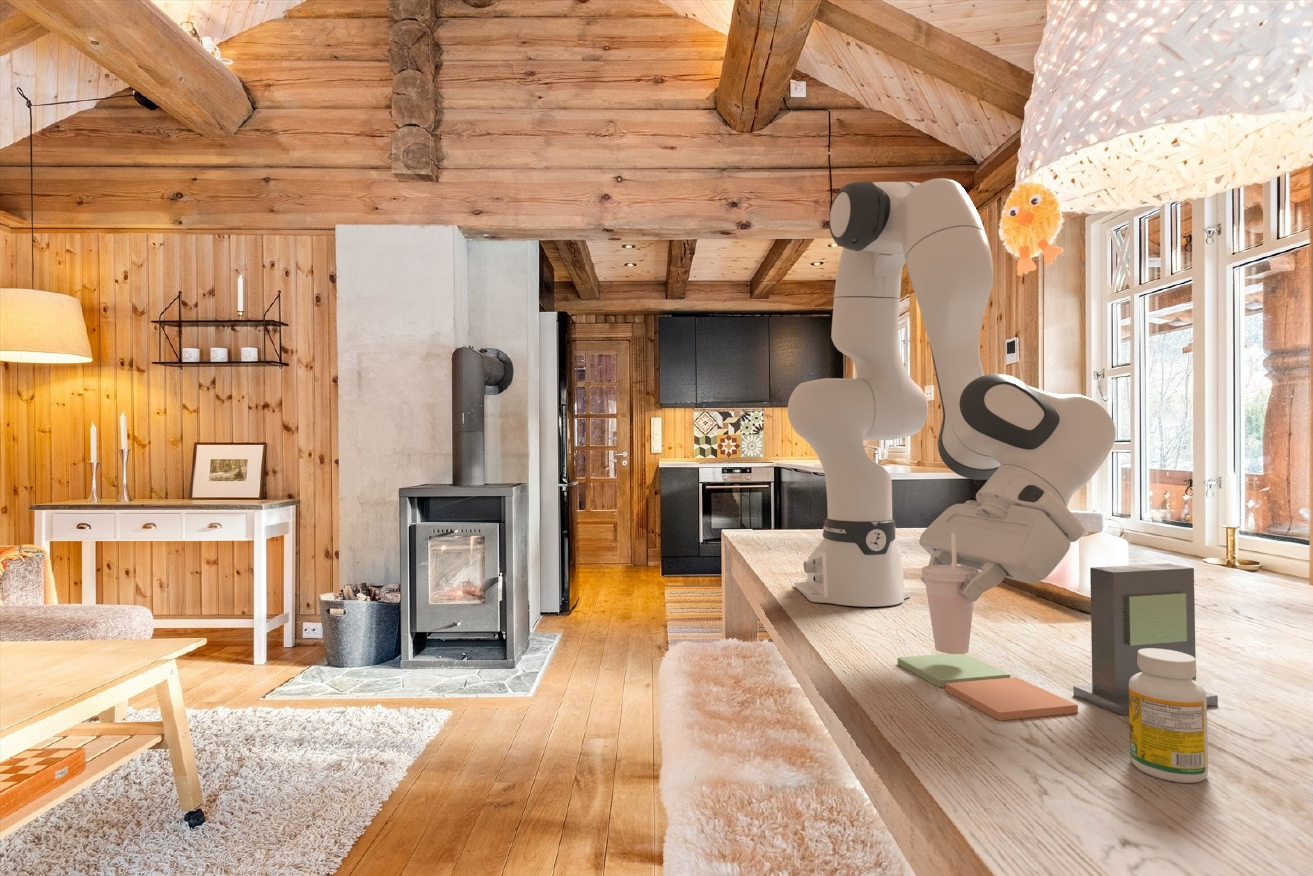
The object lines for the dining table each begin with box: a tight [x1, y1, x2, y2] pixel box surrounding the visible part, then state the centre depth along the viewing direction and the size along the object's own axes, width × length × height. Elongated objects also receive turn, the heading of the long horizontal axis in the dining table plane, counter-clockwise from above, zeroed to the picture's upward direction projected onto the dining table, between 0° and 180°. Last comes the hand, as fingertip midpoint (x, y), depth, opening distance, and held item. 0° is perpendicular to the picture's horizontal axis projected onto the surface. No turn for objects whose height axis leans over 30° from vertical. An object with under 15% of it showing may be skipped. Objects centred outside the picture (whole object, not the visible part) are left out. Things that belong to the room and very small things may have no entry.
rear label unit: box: [1073, 563, 1219, 716], centre depth 76 cm, size 6×12×14 cm, turn 102°
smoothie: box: [921, 533, 979, 654], centre depth 87 cm, size 6×6×14 cm
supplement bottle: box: [1128, 648, 1209, 784], centre depth 60 cm, size 5×5×10 cm
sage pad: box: [897, 653, 1011, 688], centre depth 86 cm, size 9×9×1 cm
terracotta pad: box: [944, 676, 1079, 721], centre depth 76 cm, size 9×9×1 cm
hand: (945, 590), depth 86 cm, fingers closed on smoothie, 6 cm apart
